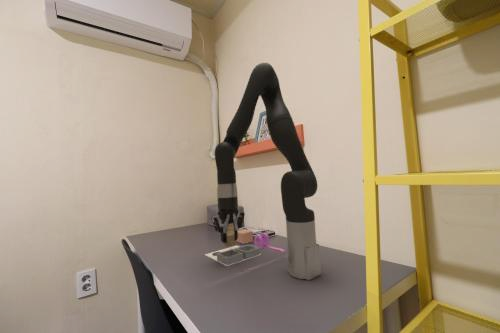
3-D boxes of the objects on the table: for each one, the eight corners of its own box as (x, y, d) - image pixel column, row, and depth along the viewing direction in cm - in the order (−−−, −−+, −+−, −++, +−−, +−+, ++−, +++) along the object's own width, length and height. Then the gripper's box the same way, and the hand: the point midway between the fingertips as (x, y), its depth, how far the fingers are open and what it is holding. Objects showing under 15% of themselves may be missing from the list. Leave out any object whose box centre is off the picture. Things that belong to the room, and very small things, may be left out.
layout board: (261, 258, 91) (261, 247, 91) (227, 270, 81) (226, 258, 81) (236, 248, 104) (236, 239, 104) (204, 258, 94) (204, 248, 94)
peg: (237, 244, 87) (236, 223, 87) (227, 247, 84) (226, 224, 85) (231, 242, 90) (230, 221, 90) (222, 244, 88) (221, 223, 88)
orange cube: (253, 244, 110) (252, 231, 110) (243, 247, 106) (242, 233, 106) (245, 241, 115) (245, 229, 115) (235, 244, 111) (235, 231, 111)
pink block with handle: (254, 251, 100) (253, 234, 100) (262, 247, 104) (262, 232, 104) (279, 257, 91) (278, 239, 91) (287, 253, 95) (286, 236, 96)
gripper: (237, 193, 95) (239, 235, 94) (205, 197, 86) (207, 243, 86) (248, 194, 89) (250, 239, 89) (215, 198, 80) (217, 248, 80)
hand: (229, 241), depth 87 cm, fingers closed on peg, 4 cm apart
